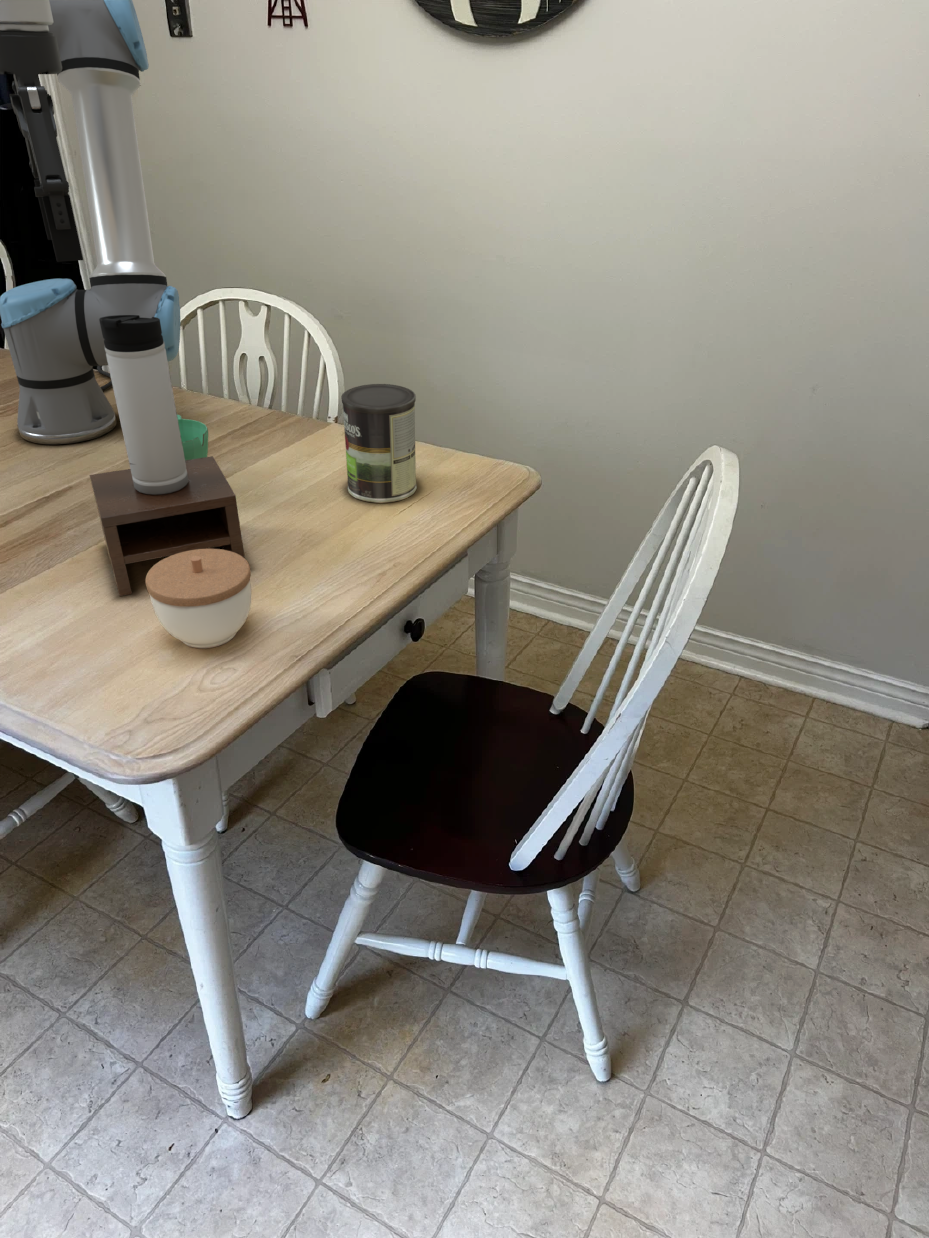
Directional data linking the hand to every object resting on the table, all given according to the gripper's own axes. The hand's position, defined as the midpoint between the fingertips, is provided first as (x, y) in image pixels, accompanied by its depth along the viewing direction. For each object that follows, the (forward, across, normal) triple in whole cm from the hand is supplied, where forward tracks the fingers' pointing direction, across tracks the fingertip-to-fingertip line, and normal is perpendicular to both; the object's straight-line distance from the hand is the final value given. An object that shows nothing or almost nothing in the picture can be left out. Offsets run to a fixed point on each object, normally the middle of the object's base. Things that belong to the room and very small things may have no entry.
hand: (64, 249), depth 101 cm
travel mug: (+24, +16, +4) cm, 29 cm away
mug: (+35, -5, +9) cm, 36 cm away
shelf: (+34, +16, +4) cm, 38 cm away
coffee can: (+35, +6, +36) cm, 50 cm away
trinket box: (+34, +34, +4) cm, 49 cm away
